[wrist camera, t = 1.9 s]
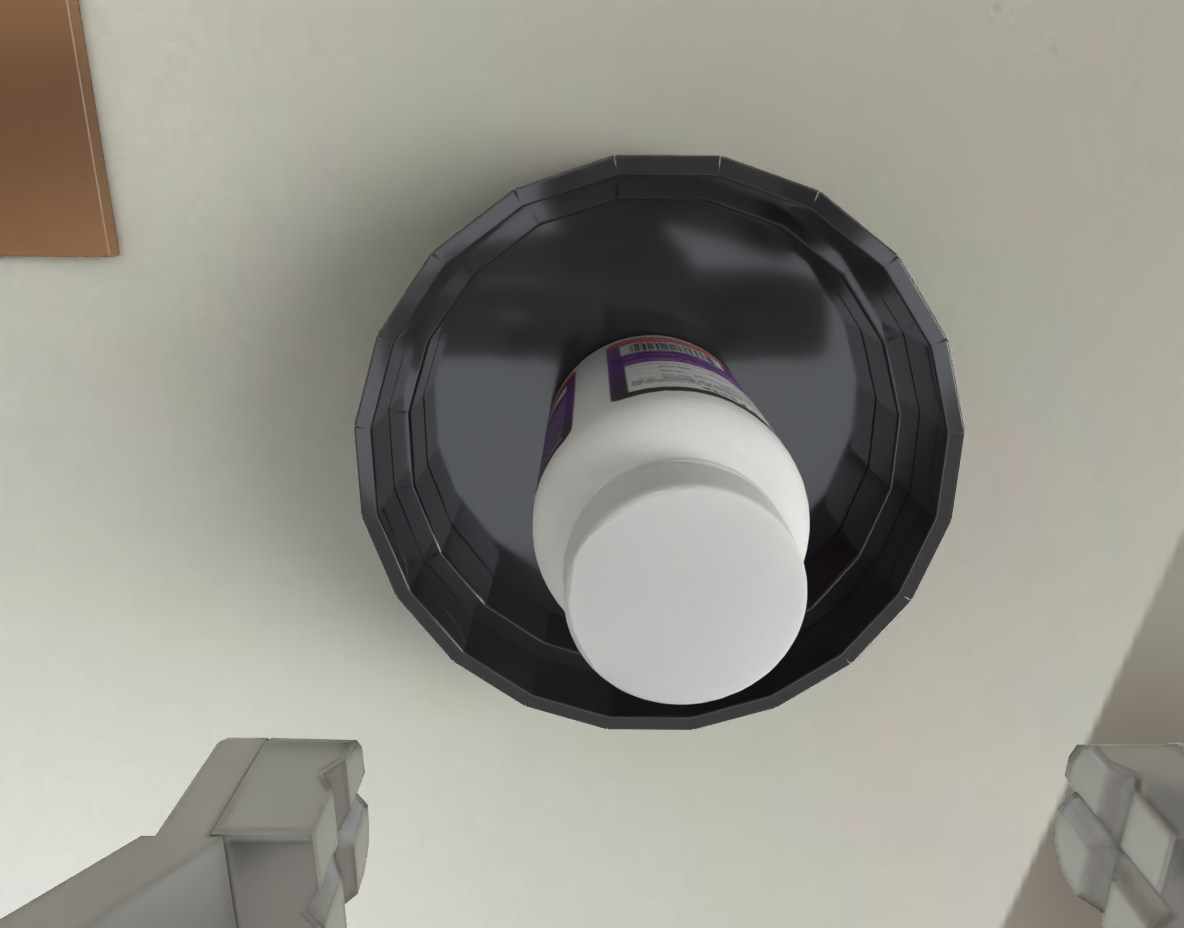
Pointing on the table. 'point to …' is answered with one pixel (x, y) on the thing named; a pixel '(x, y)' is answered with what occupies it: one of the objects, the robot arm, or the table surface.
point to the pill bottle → (670, 523)
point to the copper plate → (50, 137)
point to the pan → (667, 308)
